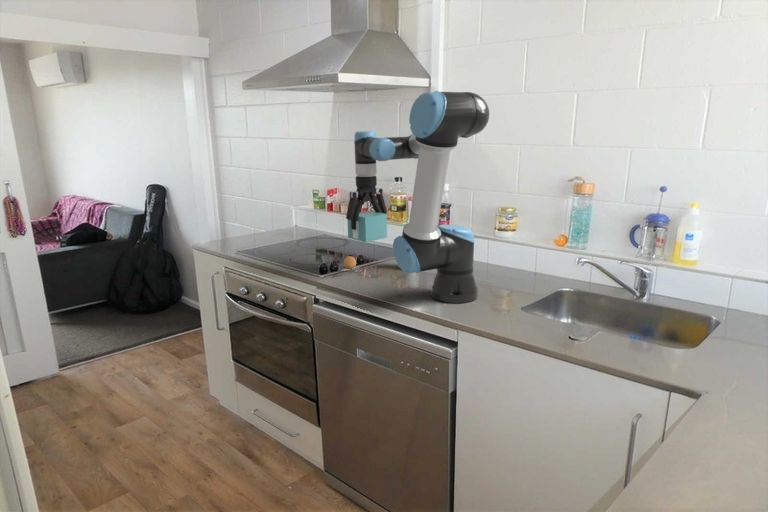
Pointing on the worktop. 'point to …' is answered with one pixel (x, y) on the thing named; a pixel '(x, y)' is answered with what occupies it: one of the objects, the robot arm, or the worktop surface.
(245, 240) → the worktop surface
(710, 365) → the worktop surface
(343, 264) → the disc
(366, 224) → the teal foam cube
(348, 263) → the ball
